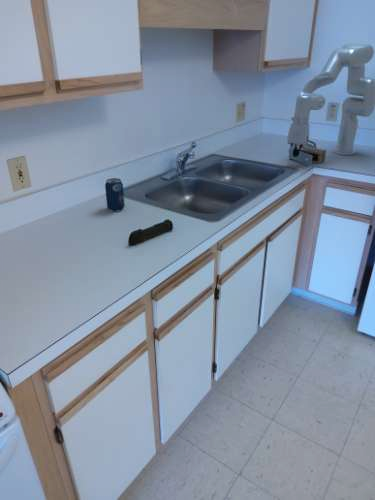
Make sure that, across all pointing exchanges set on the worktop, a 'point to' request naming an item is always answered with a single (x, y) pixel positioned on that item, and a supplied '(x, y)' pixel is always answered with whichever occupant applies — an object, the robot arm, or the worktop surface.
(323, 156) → the cabinet
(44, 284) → the worktop surface
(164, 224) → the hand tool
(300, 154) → the door
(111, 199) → the soda can
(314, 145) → the grey arched panel
